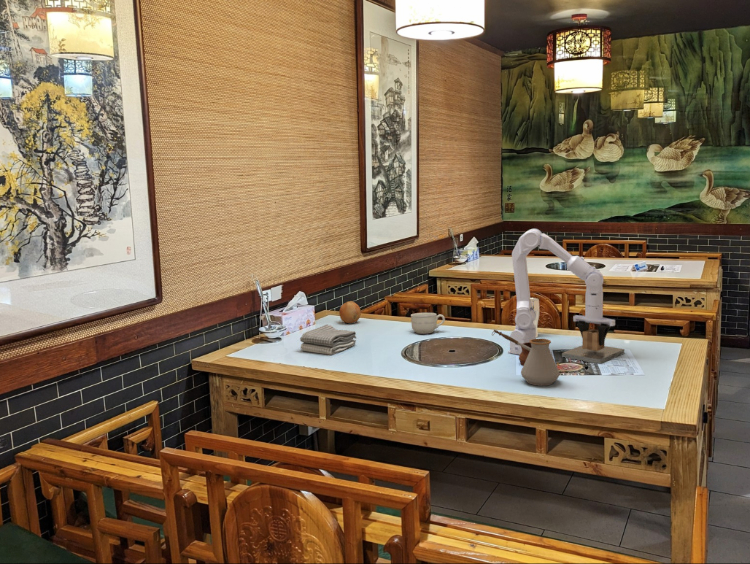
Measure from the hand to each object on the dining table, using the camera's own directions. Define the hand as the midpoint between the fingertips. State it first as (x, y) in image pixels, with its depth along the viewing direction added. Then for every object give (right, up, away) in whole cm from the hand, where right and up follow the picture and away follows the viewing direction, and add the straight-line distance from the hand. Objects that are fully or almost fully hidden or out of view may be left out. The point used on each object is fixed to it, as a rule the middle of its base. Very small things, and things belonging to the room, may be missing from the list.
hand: (593, 343), depth 234 cm
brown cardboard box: (0, -2, 0) cm, 2 cm away
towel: (-93, -5, +23) cm, 96 cm away
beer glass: (-15, 0, +32) cm, 35 cm away
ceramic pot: (-23, -7, -8) cm, 25 cm away
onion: (-87, +3, +70) cm, 112 cm away
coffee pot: (-30, -9, -26) cm, 40 cm away
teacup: (-54, 0, +45) cm, 70 cm away
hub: (0, -4, +1) cm, 4 cm away
